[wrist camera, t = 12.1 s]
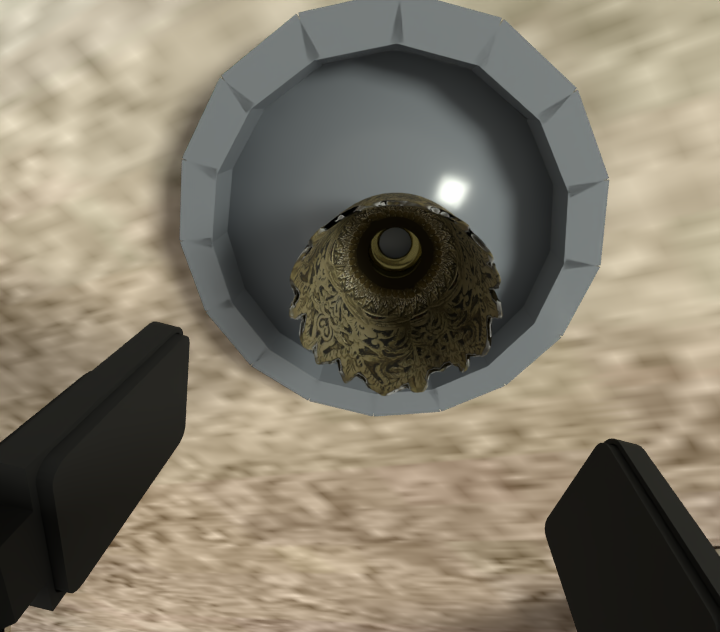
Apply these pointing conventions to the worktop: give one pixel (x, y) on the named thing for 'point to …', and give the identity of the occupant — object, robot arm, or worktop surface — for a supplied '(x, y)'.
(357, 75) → the round dish
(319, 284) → the cup
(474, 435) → the worktop surface
